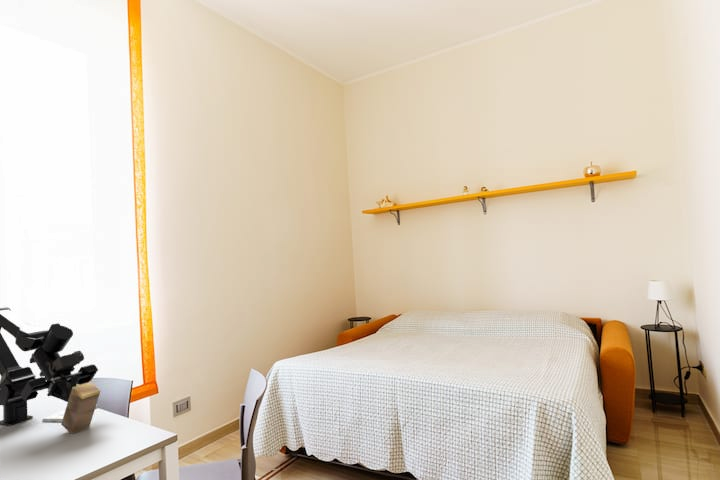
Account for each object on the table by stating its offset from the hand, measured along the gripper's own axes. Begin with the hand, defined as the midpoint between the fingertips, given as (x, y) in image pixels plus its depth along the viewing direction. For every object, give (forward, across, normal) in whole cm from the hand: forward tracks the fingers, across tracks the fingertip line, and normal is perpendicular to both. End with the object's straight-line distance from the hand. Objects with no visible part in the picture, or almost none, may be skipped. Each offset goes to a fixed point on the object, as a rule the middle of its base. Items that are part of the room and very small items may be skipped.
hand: (75, 403), depth 119 cm
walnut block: (+4, 0, +5) cm, 6 cm away
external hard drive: (-5, +8, +17) cm, 19 cm away
